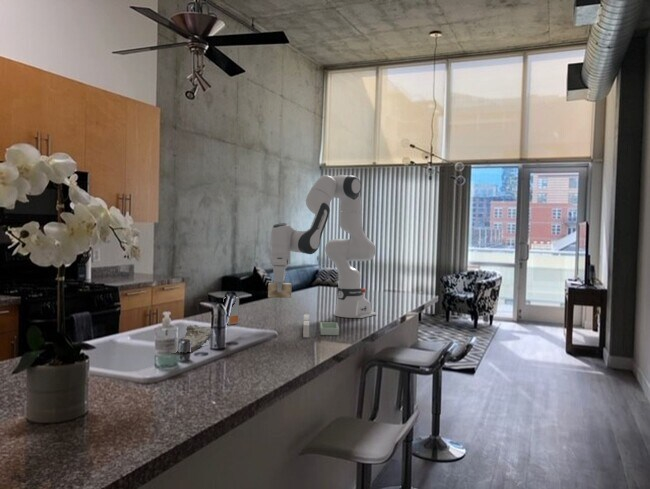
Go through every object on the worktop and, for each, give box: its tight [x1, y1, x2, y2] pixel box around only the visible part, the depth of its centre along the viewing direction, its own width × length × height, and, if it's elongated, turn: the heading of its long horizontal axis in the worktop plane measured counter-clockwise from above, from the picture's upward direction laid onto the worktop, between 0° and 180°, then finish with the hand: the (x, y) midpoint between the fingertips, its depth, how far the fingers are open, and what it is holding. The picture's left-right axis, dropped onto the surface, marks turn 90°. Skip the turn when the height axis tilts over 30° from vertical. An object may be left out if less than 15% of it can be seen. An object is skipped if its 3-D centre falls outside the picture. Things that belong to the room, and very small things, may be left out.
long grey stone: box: [181, 324, 212, 353], centre depth 197 cm, size 35×5×10 cm
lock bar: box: [267, 282, 292, 299], centre depth 230 cm, size 10×4×6 cm, turn 92°
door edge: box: [302, 313, 310, 338], centre depth 224 cm, size 26×2×5 cm, turn 2°
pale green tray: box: [319, 321, 340, 336], centre depth 223 cm, size 14×8×3 cm, turn 2°
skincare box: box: [223, 296, 240, 326], centre depth 236 cm, size 6×4×12 cm
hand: (279, 291), depth 230 cm, fingers closed on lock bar, 4 cm apart
